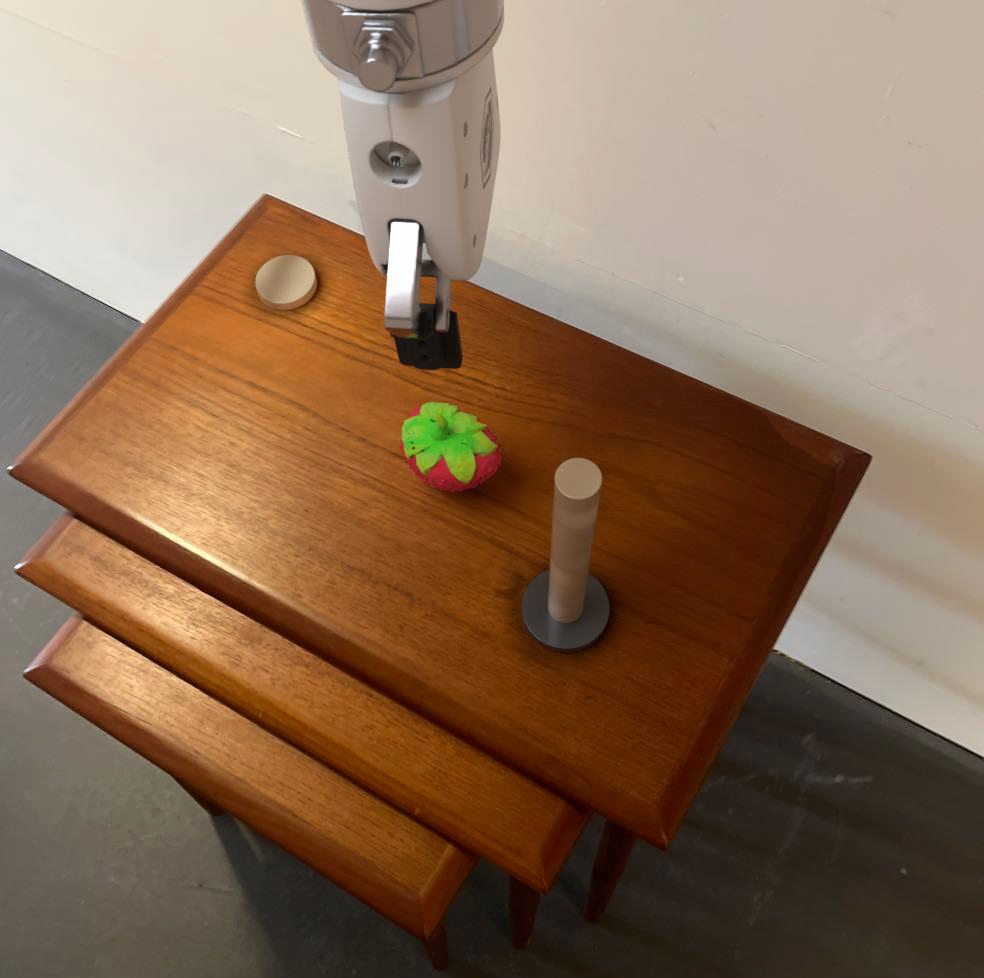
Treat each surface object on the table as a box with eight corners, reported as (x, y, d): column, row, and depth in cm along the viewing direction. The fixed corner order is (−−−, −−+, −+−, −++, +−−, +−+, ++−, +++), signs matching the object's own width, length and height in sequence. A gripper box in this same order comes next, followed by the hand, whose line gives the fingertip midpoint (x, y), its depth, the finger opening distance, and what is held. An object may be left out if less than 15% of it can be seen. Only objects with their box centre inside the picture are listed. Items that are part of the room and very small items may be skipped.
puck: (322, 264, 82) (320, 256, 81) (310, 312, 80) (308, 305, 79) (265, 260, 82) (262, 252, 81) (252, 308, 80) (249, 301, 79)
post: (611, 576, 68) (642, 431, 50) (605, 658, 66) (634, 537, 48) (526, 567, 69) (525, 422, 51) (516, 648, 67) (512, 525, 48)
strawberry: (472, 536, 70) (463, 471, 61) (392, 484, 73) (372, 414, 64) (518, 478, 72) (517, 406, 63) (438, 429, 74) (426, 352, 65)
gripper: (471, 167, 32) (495, 432, 48) (527, -158, 39) (532, 166, 55) (254, 159, 33) (347, 421, 49) (346, -156, 40) (401, 161, 56)
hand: (445, 286), depth 52 cm, fingers open, 9 cm apart
